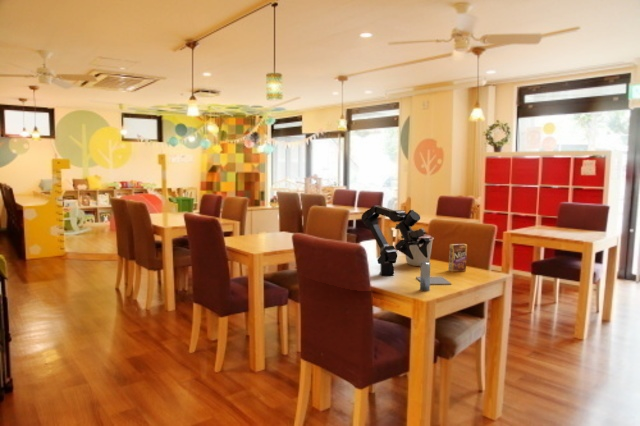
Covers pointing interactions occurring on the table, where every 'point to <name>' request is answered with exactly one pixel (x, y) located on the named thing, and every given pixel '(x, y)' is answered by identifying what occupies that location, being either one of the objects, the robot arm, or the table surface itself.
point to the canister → (419, 253)
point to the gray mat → (437, 281)
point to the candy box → (457, 257)
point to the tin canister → (425, 276)
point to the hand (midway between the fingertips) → (420, 258)
